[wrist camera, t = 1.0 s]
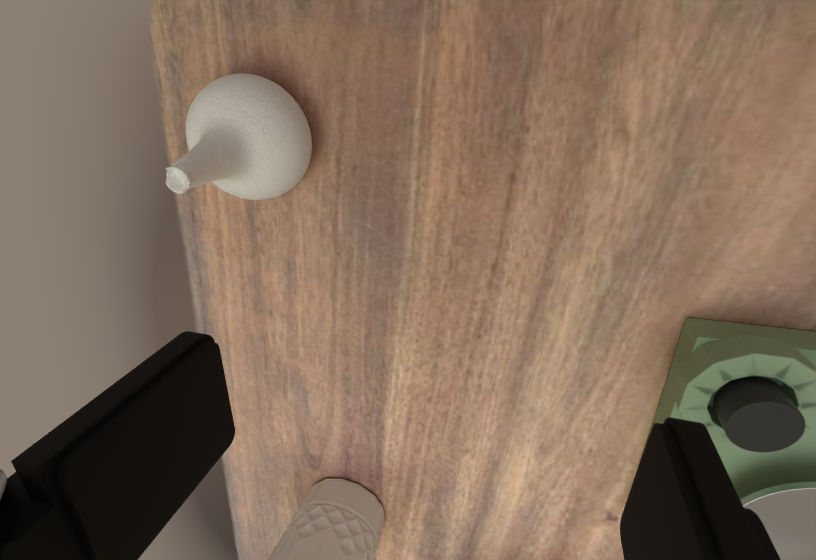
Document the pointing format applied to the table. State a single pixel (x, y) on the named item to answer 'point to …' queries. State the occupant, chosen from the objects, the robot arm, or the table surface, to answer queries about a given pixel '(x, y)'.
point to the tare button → (758, 415)
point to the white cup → (333, 524)
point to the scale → (733, 359)
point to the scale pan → (788, 518)
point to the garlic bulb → (243, 139)
